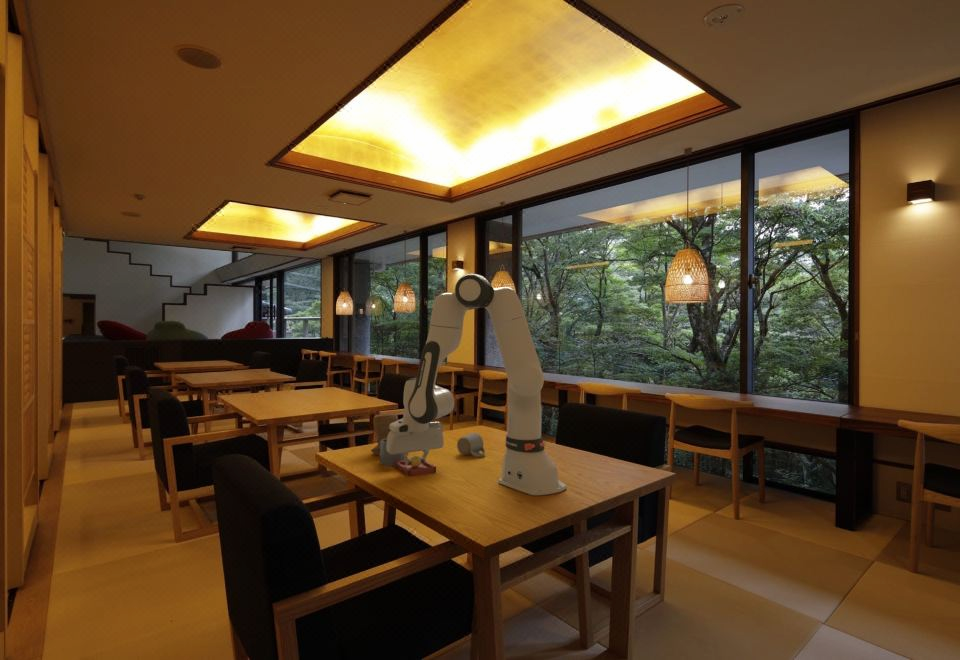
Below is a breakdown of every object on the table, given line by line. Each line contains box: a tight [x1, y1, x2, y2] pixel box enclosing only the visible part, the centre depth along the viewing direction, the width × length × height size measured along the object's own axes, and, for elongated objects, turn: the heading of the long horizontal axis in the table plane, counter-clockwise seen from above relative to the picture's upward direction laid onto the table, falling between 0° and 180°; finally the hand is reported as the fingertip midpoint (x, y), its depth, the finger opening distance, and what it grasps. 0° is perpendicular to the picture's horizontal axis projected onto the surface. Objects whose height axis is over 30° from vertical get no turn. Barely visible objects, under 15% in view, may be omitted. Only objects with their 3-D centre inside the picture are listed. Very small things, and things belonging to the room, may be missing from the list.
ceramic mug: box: [456, 432, 486, 458], centre depth 188 cm, size 11×8×8 cm
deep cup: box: [379, 438, 405, 467], centre depth 175 cm, size 8×8×8 cm
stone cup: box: [370, 412, 399, 457], centre depth 189 cm, size 15×12×15 cm
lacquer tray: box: [394, 460, 437, 478], centre depth 167 cm, size 12×10×2 cm
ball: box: [409, 455, 421, 468], centre depth 167 cm, size 4×4×4 cm
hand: (415, 463), depth 167 cm, fingers closed on ball, 4 cm apart
